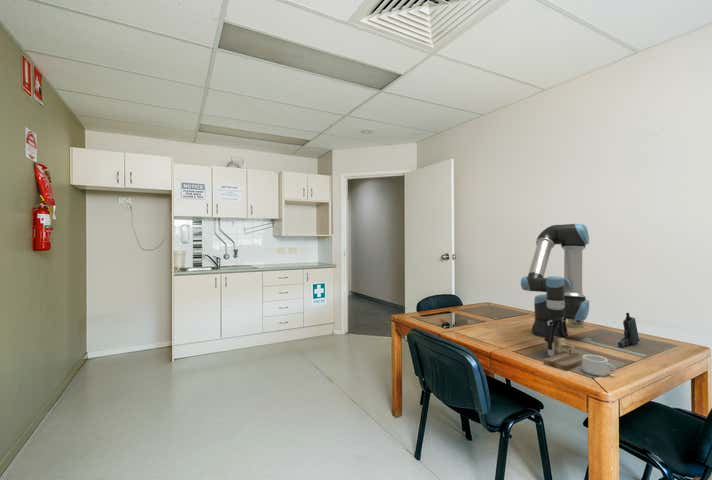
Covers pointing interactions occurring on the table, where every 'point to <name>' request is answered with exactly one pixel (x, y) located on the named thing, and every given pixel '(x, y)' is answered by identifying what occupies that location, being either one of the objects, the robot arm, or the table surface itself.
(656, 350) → the table surface
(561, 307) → the robot arm
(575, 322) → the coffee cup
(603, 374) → the mug
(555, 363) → the board
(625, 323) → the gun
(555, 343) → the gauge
